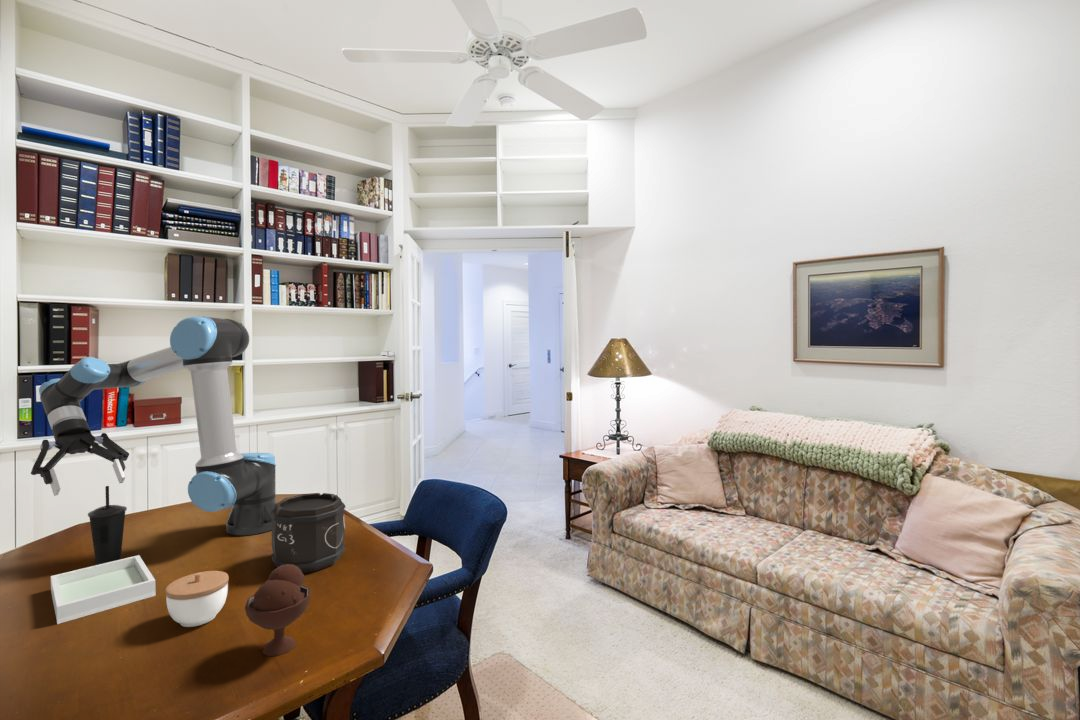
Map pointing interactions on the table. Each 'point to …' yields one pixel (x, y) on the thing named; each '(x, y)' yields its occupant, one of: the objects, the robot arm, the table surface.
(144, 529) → the table surface
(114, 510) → the drinking cup
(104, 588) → the tray
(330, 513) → the labeled octagonal canister
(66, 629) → the table surface
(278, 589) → the ice cream bowl
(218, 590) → the lidded jar
